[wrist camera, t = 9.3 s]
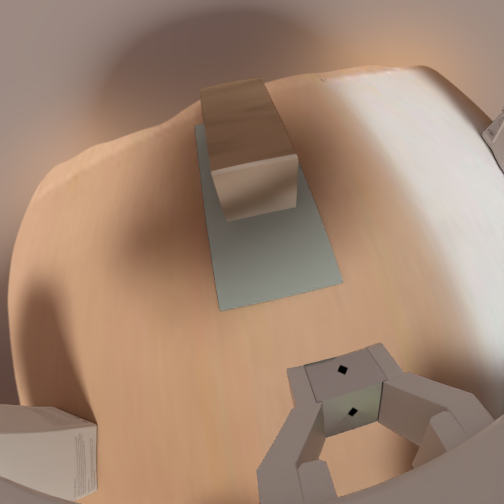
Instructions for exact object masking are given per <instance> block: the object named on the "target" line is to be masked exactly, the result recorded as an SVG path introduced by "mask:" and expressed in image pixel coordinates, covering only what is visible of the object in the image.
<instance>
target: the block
mask: <svg viewBox="0 0 504 504" xmlns="http://www.w3.org/2000/svg"><path fill="white" fill-rule="evenodd" d="M199 91H200V98H201V106H202V113H203V120H204V127H205V134H206V141H207V148H208V155H209V161H210V168H211V174H212V178H213V181H214V185H215V188H216V191H217V194H218V197H219V200H220V203H221V207H222V210H223V213H224V216H225V219H226V222H230V221H234V220H238V219H243V218H247V217H252V216H257V215H261V214H266V213H270V212H275V211H280V210H285V209H289V208H294V207H296V198H297V176H298V156H297V154H296V152H295V149H294V147H293V145H292V142H291V140H290V138H289V136H288V133H287V131H286V129H285V127H284V125H283V122H282V120H281V118H280V116H279V114H278V112H277V110H276V107H275V105H274V103H273V101H272V99H271V97H270V95H269V93H268V91H267V89H266V87H265V85H264V83H263V81H262V79H261V77H256V78H250V79H244V80H239V81H233V82H228V83H224V84H219V85H214V86H210V87H205V88H201V89H200V90H199Z"/></svg>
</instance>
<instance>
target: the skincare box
mask: <svg viewBox="0 0 504 504" xmlns="http://www.w3.org/2000/svg"><path fill="white" fill-rule="evenodd" d="M96 453H97V425H96V424H94V423H92V422H89V421H86V420H84V419H81V418H79V417H76V416H74V415H71V414H69V413H67V412H64V411H62V410H60V409H57V408H55V407H40V406H18V405H4V404H0V476H2V477H5V478H7V479H10V480H12V481H14V482H16V483H19V484H21V485H24V486H26V487H29V488H32V489H34V490H37V491H40V492H43V493H46V494H49V495H52V496H55V497H58V498H62V499H65V500H69V501H75V500H78V499H80V498H82V497H85V496H87V495H89V494H91V493H93V492H96V491H97V459H96Z"/></svg>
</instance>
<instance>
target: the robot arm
mask: <svg viewBox="0 0 504 504" xmlns="http://www.w3.org/2000/svg"><path fill="white" fill-rule="evenodd" d="M502 112H503V113H501V114H500V115H499V116H498V118H496V120H494V121H493V122H492V123H491V124H490V125H489V126H488V127H487V128H486V129H485V130H484V132H483V133H482V137H483V139H484V140H485V141H486V143H487V144H488V145H489V147H490V148H491V149H492V151H493V153H494V155H495V158H496V160H497V162H498V164H499V165H500V167H501V169H502V170H503V172H504V108H503V110H502ZM287 376H288V381H289V386H290V391H291V396H292V401H293V406H294V409H291V411H290V413H289V415H288V417H287V419H286V421H285V422H284V424H283V426H282V428H281V430H280V431H279V433H278V435H277V437H276V439H275V440H274V442H273V444H272V446H271V447H270V449H269V451H268V452H267V454H266V456H265V458H264V459H263V461H262V463H261V464H260V466H259V467H258V469H257V480H258V490H259V499H260V504H504V414H503V415H502V416H500V417H499V418H498V419H496V420H494V419H493V417H492V416H491V415H490V414H489V413H488V411H487V410H486V409H485V408H484V406H483V405H482V404H481V403H480V402H479V400H478V399H477V398H476V397H475V396H474V394H473V393H470V392H467V391H464V390H460V389H457V388H454V387H451V386H448V385H445V384H442V383H439V382H436V381H433V380H430V379H427V378H425V377H422V376H419V375H416V374H413V373H410V372H407V373H404V372H403V371H402V369H401V368H400V367H399V365H398V364H397V363H396V361H395V360H394V359H393V357H392V356H391V355H390V353H389V352H388V351H387V349H386V348H385V347H384V345H383V344H382V343H380V342H379V343H377V344H374V345H371V346H368V347H365V348H363V349H360V350H357V351H353V352H350V353H347V354H344V355H340V356H337V357H334V358H330V359H326V360H322V361H318V362H314V363H310V364H305V365H303V366H298V367H293V368H289V369H287ZM376 421H378V422H379V423H380V424H382V425H384V426H385V427H387V428H389V429H390V430H392V431H394V432H395V433H397V434H399V435H400V436H402V437H404V438H405V439H407V440H409V441H411V442H412V443H414V444H416V445H418V446H419V449H418V452H417V454H416V456H415V458H414V460H413V463H412V466H413V468H414V469H412V470H410V471H408V472H406V473H403V474H401V475H399V476H396V477H394V478H392V479H389V480H387V481H384V482H382V483H379V484H377V485H374V486H371V487H368V488H366V489H363V490H360V491H357V492H354V493H351V494H347V495H344V496H341V497H337V494H336V491H335V488H334V485H333V482H332V479H331V476H330V472H329V469H328V466H327V463H326V462H325V461H322V460H320V459H319V456H320V453H321V451H322V448H323V445H324V442H325V438H327V437H330V436H333V435H337V434H340V433H343V432H346V431H349V430H351V429H355V428H358V427H361V426H364V425H367V424H370V423H373V422H376ZM0 504H80V503H76V502H73V501H69V500H65V499H62V498H58V497H55V496H52V495H49V494H46V493H43V492H40V491H37V490H34V489H32V488H29V487H26V486H24V485H21V484H19V483H16V482H14V481H12V480H10V479H7V478H5V477H2V476H0Z"/></svg>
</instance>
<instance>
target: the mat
mask: <svg viewBox="0 0 504 504" xmlns="http://www.w3.org/2000/svg"><path fill="white" fill-rule="evenodd" d="M195 133H196V143H197V152H198V161H199V169H200V177H201V186H202V194H203V201H204V209H205V216H206V224H207V231H208V238H209V245H210V252H211V258H212V265H213V271H214V278H215V284H216V290H217V296H218V302H219V308H220V311H225V310H230V309H235V308H240V307H244V306H249V305H254V304H258V303H263V302H267V301H272V300H276V299H280V298H285V297H289V296H293V295H297V294H302V293H306V292H310V291H314V290H318V289H322V288H326V287H330V286H334V285H338V284H342V283H343V280H342V277H341V274H340V271H339V268H338V265H337V262H336V259H335V256H334V253H333V250H332V247H331V244H330V241H329V239H328V236H327V233H326V230H325V228H324V225H323V222H322V220H321V217H320V214H319V212H318V209H317V206H316V204H315V201H314V199H313V196H312V193H311V191H310V188H309V186H308V183H307V181H306V178H305V176H304V174H303V171H302V169H301V166H300V164H299V161H298V176H297V198H296V207H294V208H289V209H285V210H280V211H275V212H270V213H266V214H261V215H257V216H252V217H247V218H243V219H238V220H234V221H230V222H226V219H225V216H224V213H223V210H222V207H221V203H220V200H219V197H218V194H217V191H216V188H215V185H214V181H213V178H212V174H211V168H210V161H209V155H208V148H207V141H206V134H205V127H204V123H203V124H199V125H195Z"/></svg>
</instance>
